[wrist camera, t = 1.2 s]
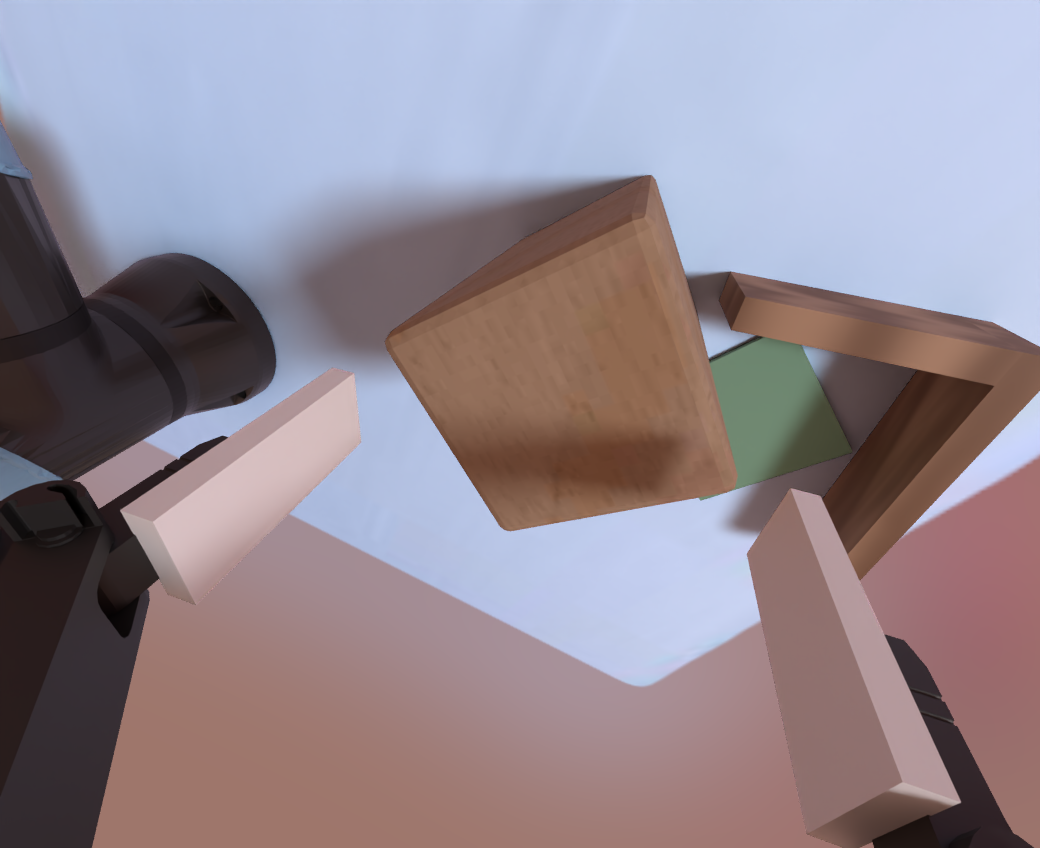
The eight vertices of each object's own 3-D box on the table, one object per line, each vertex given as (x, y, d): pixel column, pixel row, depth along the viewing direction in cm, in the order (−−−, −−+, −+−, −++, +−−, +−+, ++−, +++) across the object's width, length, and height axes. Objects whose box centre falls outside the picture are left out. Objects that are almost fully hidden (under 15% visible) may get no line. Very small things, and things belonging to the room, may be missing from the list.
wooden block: (652, 170, 27) (649, 206, 11) (697, 313, 31) (743, 495, 15) (518, 241, 32) (374, 341, 15) (571, 359, 36) (501, 537, 19)
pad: (700, 497, 39) (700, 500, 39) (634, 396, 36) (633, 399, 36) (850, 449, 33) (852, 452, 33) (789, 322, 30) (791, 324, 30)
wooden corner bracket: (644, 487, 40) (642, 533, 36) (730, 271, 29) (745, 296, 24) (823, 535, 38) (848, 592, 33) (993, 322, 27) (1067, 361, 22)
